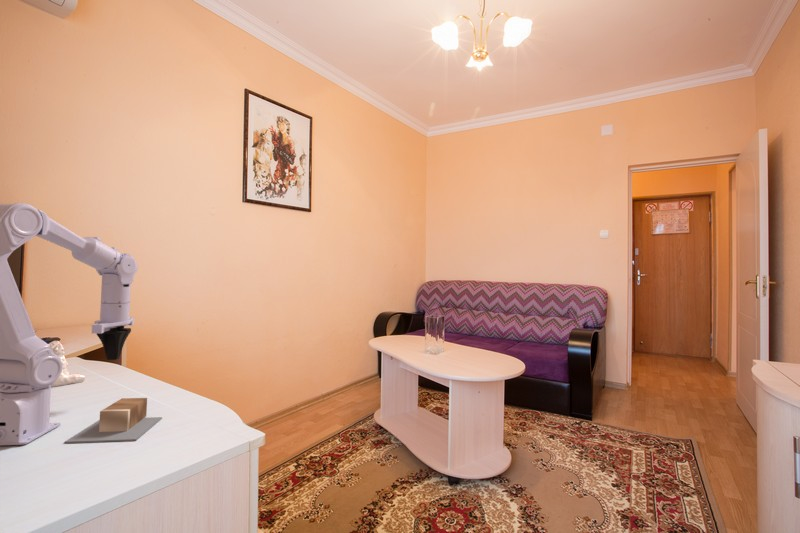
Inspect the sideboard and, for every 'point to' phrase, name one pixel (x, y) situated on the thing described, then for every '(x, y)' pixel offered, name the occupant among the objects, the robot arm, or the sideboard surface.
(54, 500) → the sideboard surface
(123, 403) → the walnut block
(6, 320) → the robot arm
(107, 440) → the slate rubber mat
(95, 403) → the sideboard surface
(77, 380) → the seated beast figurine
